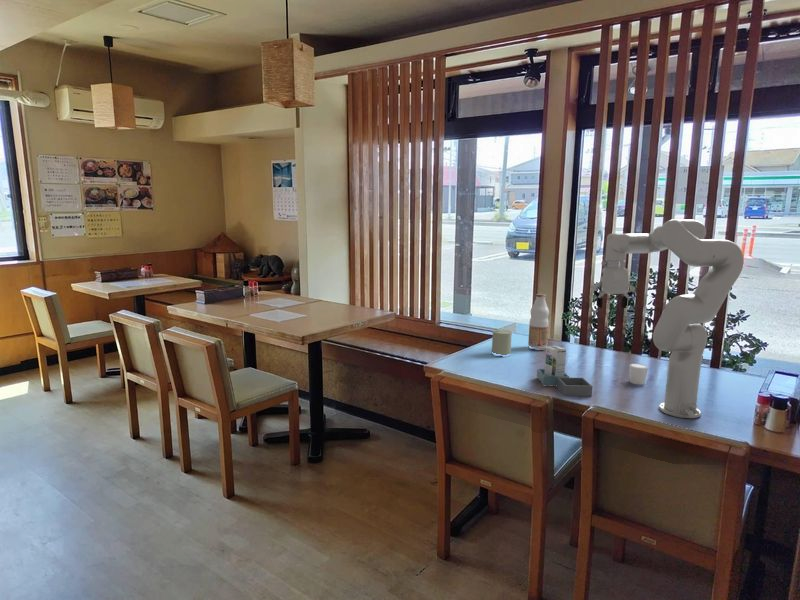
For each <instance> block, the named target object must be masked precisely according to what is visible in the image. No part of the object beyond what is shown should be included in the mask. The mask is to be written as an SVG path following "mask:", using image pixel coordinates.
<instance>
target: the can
mask: <svg viewBox="0 0 800 600" xmlns="http://www.w3.org/2000/svg"><path fill="white" fill-rule="evenodd" d="M512 334H513V332H512V330H507V329H494V330H492V336H491V337H492V338H491V339H492V340H491V353H492V352H493V353H496V354H501V355H507V354H510V353H512V350H511V349H512Z"/></svg>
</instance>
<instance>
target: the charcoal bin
mask: <svg viewBox="0 0 800 600" xmlns="http://www.w3.org/2000/svg"><path fill="white" fill-rule="evenodd" d="M557 387H558V388H559V389H560V390H559V389H558V388H557ZM556 388H557V389H558V390H559V392H560V393H561V394H562V393H563V394H564V395H565V396H564V395H563V396H564V397H592V396H593V395H592V394H593V385H592V384H591V383H589V382H588V381H587V380H586V379H585V378H584V377H569V378H566V377H557V386H556Z"/></svg>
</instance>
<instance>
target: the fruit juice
mask: <svg viewBox="0 0 800 600" xmlns="http://www.w3.org/2000/svg"><path fill="white" fill-rule="evenodd" d="M546 297H547V295H546V294H545V293H536V294H535V300H534V303H533V305H532V307H531V308H530V319H529V328H528V343H527V344H528V345H529V346H531V347H535V348H546V347H548V345H549V344H548V342H549V327H550V326H549V325H550V324H549V323H550V322H549V315H550V310H549V309H550V308H549V307H548V304H547V301H546ZM528 345H527V346H528Z"/></svg>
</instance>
